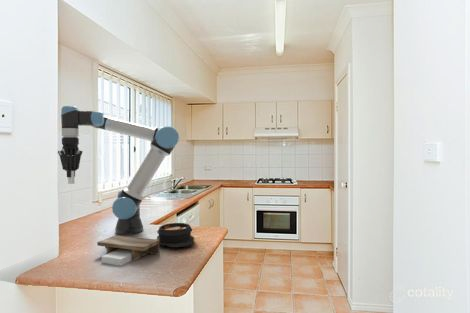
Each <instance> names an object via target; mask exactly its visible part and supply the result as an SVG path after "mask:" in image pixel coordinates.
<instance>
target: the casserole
mask: <svg viewBox="0 0 470 313" xmlns="http://www.w3.org/2000/svg"><path fill="white" fill-rule="evenodd" d="M192 231H193V229H192V227H191V225H190V224H189V223H185V222H174V223H173V222H172V223H167V224H162V225H160V226H159V228H158V230H157V232H156V233H157V234H158V235H157V236H156V239H157V240H159V246H160V245H161V246H166V247H169V248H182V247H184V248H185V247H188V246H191V245H194V243H195V237H194V236H193V235H191V233H192Z"/></svg>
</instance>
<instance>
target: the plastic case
mask: <svg viewBox="0 0 470 313" xmlns="http://www.w3.org/2000/svg"><path fill="white" fill-rule="evenodd" d="M131 261H133V260H132V250H131V249H122V248H120V249H117V250H115V251H113V252H110V253H108V254H107V253H106V254H104V255H102V256H101V263H102V264H108V265H114V266H115V265H116V266H123V265H125V264H127V263H129V262H131Z"/></svg>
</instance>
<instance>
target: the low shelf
mask: <svg viewBox="0 0 470 313" xmlns="http://www.w3.org/2000/svg"><path fill="white" fill-rule="evenodd" d="M97 246H98V247H105V246H106V247H107V248H106V254H108V253H110V252H113V251H115V250H117V249H120V248H122V249H131V250H132V260H131V261H136V260H138V259H140V258H142V257H143V256H145V255H148V254H154V255H155V254H156V255H159V254H160V244H159V240H157V238H144V237H135V236H134V237H133V236H128V235H127V236H125V235H118V234H116V235H112V236H109V237H107V238H104V239H102V240H99V241H97Z"/></svg>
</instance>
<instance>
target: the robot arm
mask: <svg viewBox="0 0 470 313" xmlns="http://www.w3.org/2000/svg"><path fill="white" fill-rule="evenodd" d="M60 120H61V136H62V137H61V144H62V148H61V150H57V154H58V155H59V158H60V162H61V166H62V170H64V171H65V172H66V178H67V184H68V185H73V184H75V177H76V171H78V170H79V168H80V164H81V163H80V162H81V158H82V154H83V151H82V150H80V149H79V144H80V139H79V136H80V135H79V126H80V127H81V126H87V127H89V126H90V127H92V128H95V129H100V130H105V131H109V132H113V133H118V134H120V135H125V136H130V137H133V138H138V139H140V140H143V141H144V140H145V141H149V142H150V149H149V151H148V153H147V154H146V156H145V157H144V160H143V161H142V162H141V164H140V166H139V168H138V169H137V171H136V172H135V174H134V176H133V177H132V179H131V181H130V183H129V184H128V186H127V187H123V188H122V190H121V191H118V192H117V198H116V199H115V200H114V201H113V203H112V205H111V206H112V207H111V211H112V213H113V215H114V216H115V217H116V218H117V222H116V225H115V229H114V231H115V232H114V233H115V234H116V235H133V234H138V233H140V232H143V231H144V225H143V222H142V219H141V212H140V211H141V207H140V206H141V203H142V202H143V199H144V198H143V195H144V193H145V191H146V190H147V187H148V186H149V184H150V183H151V181H152V180H153V178H154V176H155V174H156V173H157V171H158V169H159V168H160V166H161V165H162V163H163V161H164V160H165V158H166V157H167V156H170V155H171V153H172V151H173V150H174V148H175V147H176V145H177V144H178V143H179V140H180V136H179V132H178V131H177V130H176V129H175V128H174V127H172V126H170V125H164V126H160V127H157V126H155V127H154V128H153V127H150V126H146V125H141V124H137V123H135V122H134V123H133V122H130V121H126V120H122V119H118V118H114V117H110V116H107V115H105V114H104V112H103V111H100V110H80V109H79V108H78V107H77V106H74V105H73V106H72V105H63V106H62V107H61V113H60Z"/></svg>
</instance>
